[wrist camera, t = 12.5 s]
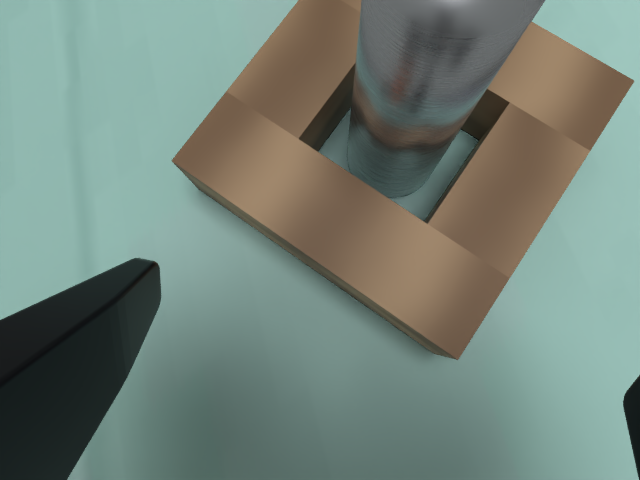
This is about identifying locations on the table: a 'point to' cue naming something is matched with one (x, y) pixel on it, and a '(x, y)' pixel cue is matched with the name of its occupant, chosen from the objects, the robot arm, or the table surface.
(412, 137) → the grey glossy round cylinder
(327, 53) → the collar block
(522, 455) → the table surface
